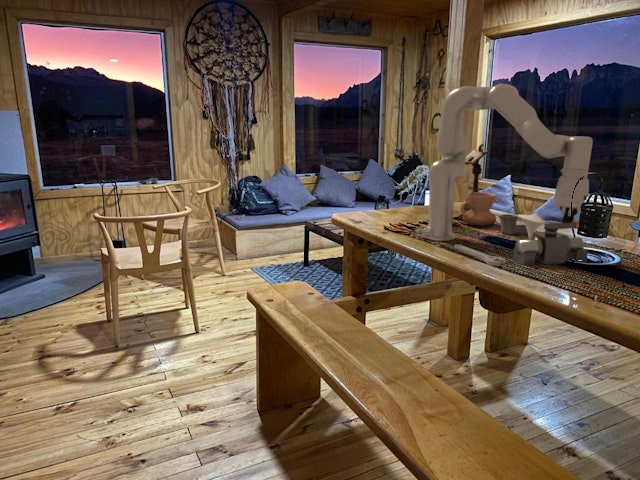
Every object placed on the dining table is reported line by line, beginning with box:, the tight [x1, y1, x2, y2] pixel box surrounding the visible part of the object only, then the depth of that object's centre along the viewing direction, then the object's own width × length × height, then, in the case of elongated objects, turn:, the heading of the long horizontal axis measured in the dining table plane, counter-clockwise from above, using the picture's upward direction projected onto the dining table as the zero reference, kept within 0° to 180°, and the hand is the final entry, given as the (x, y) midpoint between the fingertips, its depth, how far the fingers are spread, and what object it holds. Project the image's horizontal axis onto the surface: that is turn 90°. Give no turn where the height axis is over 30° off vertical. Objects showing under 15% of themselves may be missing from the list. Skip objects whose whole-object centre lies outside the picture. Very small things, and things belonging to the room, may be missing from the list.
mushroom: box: [517, 211, 546, 240], centre depth 188 cm, size 10×11×12 cm
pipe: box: [498, 213, 528, 236], centre depth 201 cm, size 6×13×8 cm, turn 76°
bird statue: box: [464, 143, 489, 213], centre depth 241 cm, size 17×13×35 cm
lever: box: [543, 219, 580, 231], centre depth 163 cm, size 17×4×2 cm, turn 102°
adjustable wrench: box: [454, 244, 506, 267], centre depth 172 cm, size 25×6×2 cm, turn 16°
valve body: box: [512, 229, 589, 266], centre depth 164 cm, size 23×8×11 cm, turn 99°
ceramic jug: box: [460, 191, 500, 227], centre depth 217 cm, size 18×14×14 cm
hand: (567, 226), depth 167 cm, fingers closed
